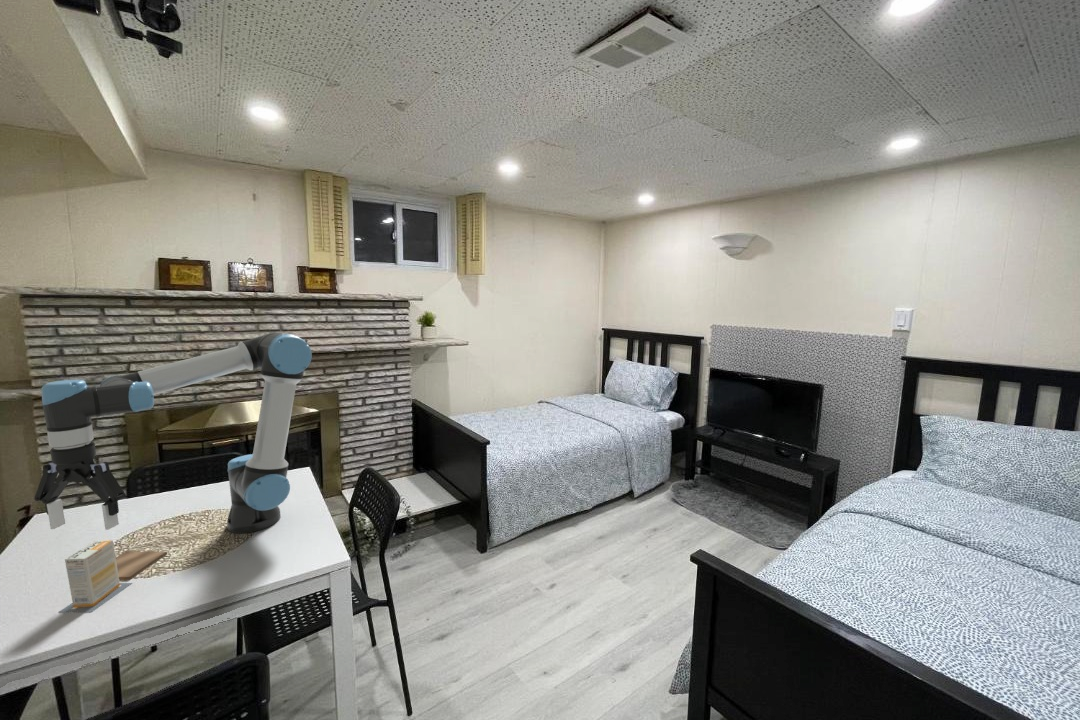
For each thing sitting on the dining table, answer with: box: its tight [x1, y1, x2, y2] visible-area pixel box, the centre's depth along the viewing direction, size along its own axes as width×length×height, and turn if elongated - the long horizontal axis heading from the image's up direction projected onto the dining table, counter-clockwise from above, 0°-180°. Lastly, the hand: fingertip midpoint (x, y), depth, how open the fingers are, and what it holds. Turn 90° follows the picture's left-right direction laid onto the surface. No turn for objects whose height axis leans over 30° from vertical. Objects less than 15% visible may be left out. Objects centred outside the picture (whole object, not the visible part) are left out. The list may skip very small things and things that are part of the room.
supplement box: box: [64, 540, 121, 607], centre depth 113 cm, size 8×5×13 cm, turn 5°
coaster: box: [115, 550, 168, 581], centre depth 127 cm, size 12×12×1 cm
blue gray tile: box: [58, 582, 133, 613], centre depth 114 cm, size 8×11×1 cm
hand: (85, 526), depth 111 cm, fingers open, 13 cm apart
